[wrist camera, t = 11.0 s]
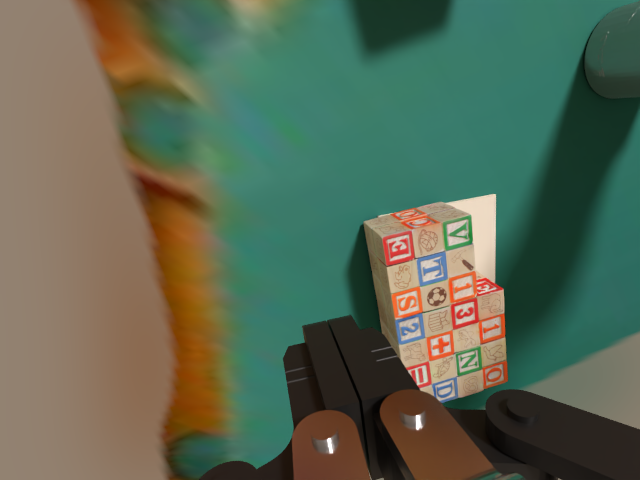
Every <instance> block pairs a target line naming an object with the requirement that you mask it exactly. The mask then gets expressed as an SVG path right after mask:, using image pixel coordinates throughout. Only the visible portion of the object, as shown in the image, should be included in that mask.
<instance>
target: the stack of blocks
mask: <svg viewBox="0 0 640 480" xmlns="http://www.w3.org/2000/svg"><path fill="white" fill-rule="evenodd" d="M363 224H364V230H365V235H366V241H367V246H368V252H369V258H370V264H371V269H372V272H373V273H372V275H373V281H374V287H375V292H376V298H377V304H378V309H379V316H380V323H381V329H382V334H384V335H385V337H386V338H387V340H388V341H389V343H390V344H391V347H392V348H393V349H394V350H395V352H396V353H397V356H398V357H399V358H400V360H401V361H402V363H403V364H404V366H405V367H406V369H407V370H408V372H409V373H410V375H411V376H412V378H413V380H414V381H415V383H416V384H417V386H418V387H419V389H420V390H421V391H424V392H426V393H429V394H431V395H433V396H434V397H436V398H437V399H438V400H439V401H440V402H441V403H443V402H446V401H449V400H453V399H456V398H459V397H460V398H461V397H464V396H468V395H471V394H474V393H477V392H480V391H483V390H484V389H486V388H489V387H492V386H496V385H499V384H502V383H505V382H507V381H508V374H507V361H506V339H505V316H504V289H503V288H501V287H500V286H498V285H496V284H495V283H493V282H492V281H490V280H489V279H487V278H486V277H485V276H484V275H482V274H481V273H479V272H478V271H476V270H475V269H476V267H475V253H474V244H473V243H472V242H473V233H472V217H471V214H469V213H466V212H464V211H462V210H459V209H457V208H455V207H453V206H450V205H448V204H445V203H443V202H437V203H433V204H429V205H425V206H421V207H417V208H412V209H408V210H404V211H400V212H396V213H393V214H390V215H386V216H382V217H378V218H375V219H371V220H367V221H364V222H363Z"/></svg>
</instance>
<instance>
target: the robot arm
mask: <svg viewBox="0 0 640 480" xmlns="http://www.w3.org/2000/svg"><path fill="white" fill-rule="evenodd" d="M585 73H586V78H587V80H588V82H589V85H590V86H591V87H592V89H593V90H594V91H595V92H596V93H597V94H599V95H600V96H603V97H605V98H613V99H616V98H632V97H640V1H638V2H635V3H632V4H628V5H625V6H622V7H620V8H617V9H615V10H613V11H612V12H610V13H609V14H607V15H606V16H605V17H604V18H603V19H602V20H601V21H600V22H599V24H598V25H597V26H596V28H595V29H594V31H593V33H592V35H591V37H590V39H589V42H588V45H587V48H586V53H585ZM302 328H303V334H304V340H305V343H301V344H297V345H292V346H288V349H287V351H286V353H285V355H284V358H283V361H284V368H285V374H286V380H287V387H288V393H289V399H290V405H291V412H292V418H293V425H294V430H293V435H292V438H291V440H290V442H289V444H288V446H287V447H286V448H285V450H284V451H283V452H282V453H281V454H280V455H278V456H277V457H276V458H275V459H273V460H272V461H270V462H268V463H267V464H265V465H263V466H262V467H260V468H258V469H256V468H255V467H254V466H253V465H251V464H249V463H247V462H243V461H230V462H226V463H223V464H220V465H218V466H216V467H214V468H212V469H211V470H209V471H208V472H207V473H205V474H204V475H203V476H202V477H201V478H200V479H199V480H370V476H371V478H372V480H376V479H379V478H384V480H558V478H560V479H562V480H640V429H637V428H634V427H631V426H628V425H625V424H622V423H619V422H616V421H613V420H610V419H607V418H604V417H601V416H599V415H596V414H592V413H590V412H587V411H584V410H581V409H578V408H575V407H572V406H569V405H566V404H563V403H560V402H557V401H554V400H552V399H549V398H546V397H543V396H539V395H536V394H534V393H531V392H527V391H523V390H515V389H509V390H502V391H499V392H496V393H494V394H493V395H491V396H490V397H489V399H488V400H487V402H486V410H460V409H451V408H447V407H444V406H443V404H442V403H441V402H440V401H439V400H438V399H437V398H436V397H434V396H433V395H431V394H429V393H426V392H424V391H421V390H420V389H419V387H418V386H417V384H416V383H415V381H414V380H413V378H412V376H411V375H410V373H409V372H408V370H407V369H406V367H405V366H404V364H403V363H402V361H401V360H400V358H399V357H398V356H397V353H396V352H395V350H394V349H393V348H392V347H391V344H390V343H389V341H388V340H387V338H386V337H385V335H384V334H382V333H380V332H379V331H377V330H375V329H374V328H372V327H370V328H366V329H362V330H359V328H358V326H357V325H356V323H355V321H354V319H353V317H352V316H351V315H348V316H344V317H339V318H335V319H330V320H327V322H326V321H322V322H317V323H313V324H308V325H304V326H302ZM368 470H369V472H368ZM369 473H370V476H369Z"/></svg>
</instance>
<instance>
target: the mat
mask: <svg viewBox="0 0 640 480" xmlns="http://www.w3.org/2000/svg"><path fill="white" fill-rule="evenodd" d="M445 204H448V205H450V206H453V207H455V208H457V209H459V210H462V211H464V212H466V213H469V214H471V217H472V233H473V242H472V243H473V244H474V253H475V267H476V269H475V270H476V271H478V272H479V273H481V274H482V275H484V276H485V277H486V278H487V279H489V280H490V281H492V282H493V283H495V237H496V194H491V195H486V196H480V197H475V198H470V199H464V200H459V201H454V202H449V203H445ZM390 214H393V213H390ZM390 214H385V215H380V216H377V217H382V216H386V215H390Z"/></svg>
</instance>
